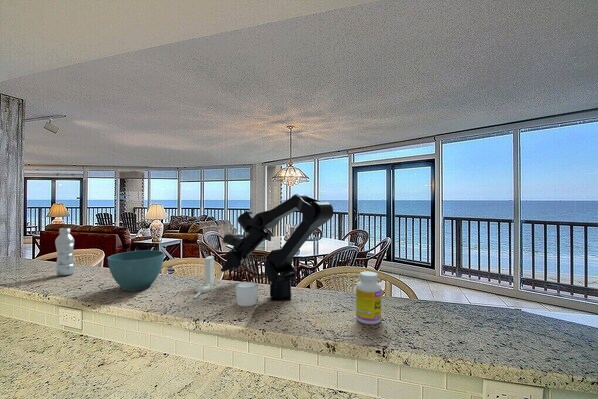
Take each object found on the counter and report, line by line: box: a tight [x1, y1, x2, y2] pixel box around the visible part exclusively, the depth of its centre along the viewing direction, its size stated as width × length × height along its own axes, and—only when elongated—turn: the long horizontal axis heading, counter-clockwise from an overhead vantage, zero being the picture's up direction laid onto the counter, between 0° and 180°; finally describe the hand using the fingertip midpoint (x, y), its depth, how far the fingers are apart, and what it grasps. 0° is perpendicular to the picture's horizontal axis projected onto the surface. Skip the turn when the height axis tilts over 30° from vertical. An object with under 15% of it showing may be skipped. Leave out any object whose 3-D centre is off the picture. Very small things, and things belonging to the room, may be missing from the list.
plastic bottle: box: [54, 227, 76, 277], centre depth 126 cm, size 6×7×20 cm
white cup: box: [235, 281, 259, 309], centre depth 90 cm, size 7×7×7 cm
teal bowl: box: [107, 249, 165, 292], centre depth 109 cm, size 18×18×12 cm
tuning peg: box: [193, 255, 215, 299], centre depth 102 cm, size 5×17×10 cm, turn 0°
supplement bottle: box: [355, 271, 382, 325], centre depth 81 cm, size 7×7×13 cm
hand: (221, 271), depth 108 cm, fingers closed
